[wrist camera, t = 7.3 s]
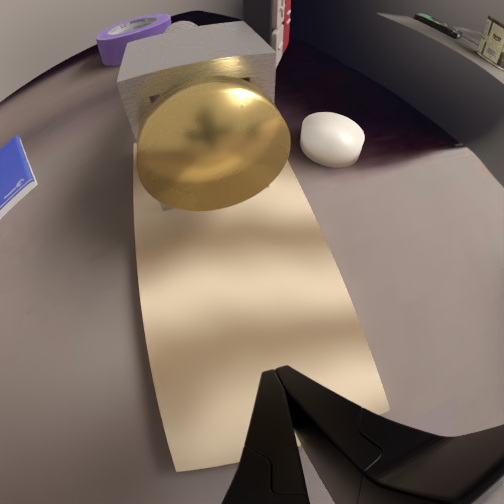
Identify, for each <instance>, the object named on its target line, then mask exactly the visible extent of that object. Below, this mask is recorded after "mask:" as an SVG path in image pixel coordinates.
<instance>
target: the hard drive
mask: <svg viewBox="0 0 504 504" xmlns="http://www.w3.org/2000/svg"><path fill="white" fill-rule="evenodd" d="M37 185H38V184H37V181H36V179H35V177H34V174H33V172H32V169H31V166H30V164H29V161H28V159H27V156H26V153H25V151H24V148H23V145H22V142H21V139H20V138H19V136H16V137H14V138H13V139H11V140H10V141H9V142H8V143H7V144H6V145H4V146H3V147H2V148H1V149H0V219H1V218H2V217H3V216H4V215H5V214H6V213H7V212H8V211H9V210H10V209H11V208H12V207H13V206H14V205H15V204H16V203H17V202H19V201H20V200H21V199H22V198H23V197H24V196H25V195H26V194H27V193H29V192H30V191H31V190H32V189H33V188H34V187H35V186H37Z"/></svg>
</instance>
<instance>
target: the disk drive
mask: <svg viewBox="0 0 504 504" xmlns="http://www.w3.org/2000/svg"><path fill="white" fill-rule="evenodd" d="M414 19H416V20H419V21H421V22H423V23H425V24H427V25H429V26H431V27H434V28H436V29H438V30H440V31H441V32H443V33H445V34H447V35H449V36H451V37H453V38H455V39H459V38H461V36H462V32H460V31H459V30H457V29H455V28H453V27H451V26H449V25H447V24H445V23H443V22H441V21H439V20H437V19H435V18H433V17H431V16H429V15H426V14H424V13H419V14H417V13H416V14H415V16H414Z"/></svg>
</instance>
